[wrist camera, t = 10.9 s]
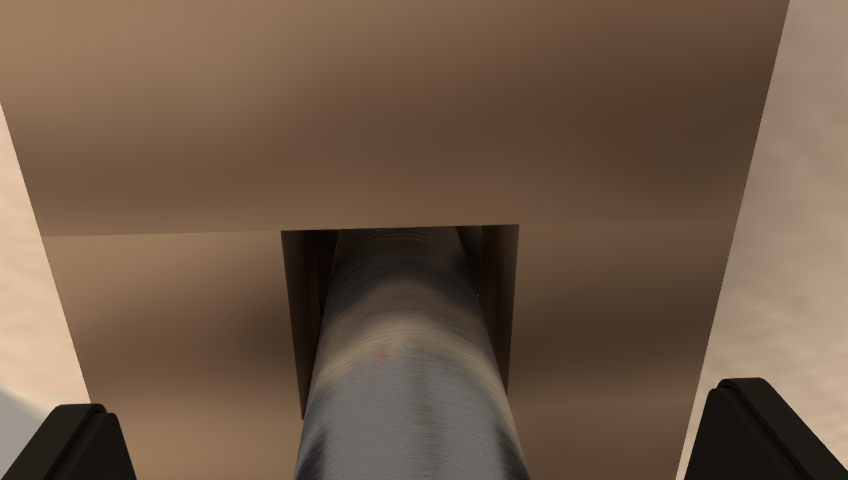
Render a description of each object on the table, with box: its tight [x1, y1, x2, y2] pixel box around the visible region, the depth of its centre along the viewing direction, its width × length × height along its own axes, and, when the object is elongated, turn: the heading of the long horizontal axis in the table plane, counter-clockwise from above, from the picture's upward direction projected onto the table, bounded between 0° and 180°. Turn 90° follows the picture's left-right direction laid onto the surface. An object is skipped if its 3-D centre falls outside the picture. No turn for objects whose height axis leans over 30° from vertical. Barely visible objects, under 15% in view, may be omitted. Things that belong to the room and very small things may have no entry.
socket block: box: [0, 0, 790, 480], centre depth 17 cm, size 16×16×5 cm
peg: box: [293, 226, 531, 480], centre depth 13 cm, size 4×4×12 cm
